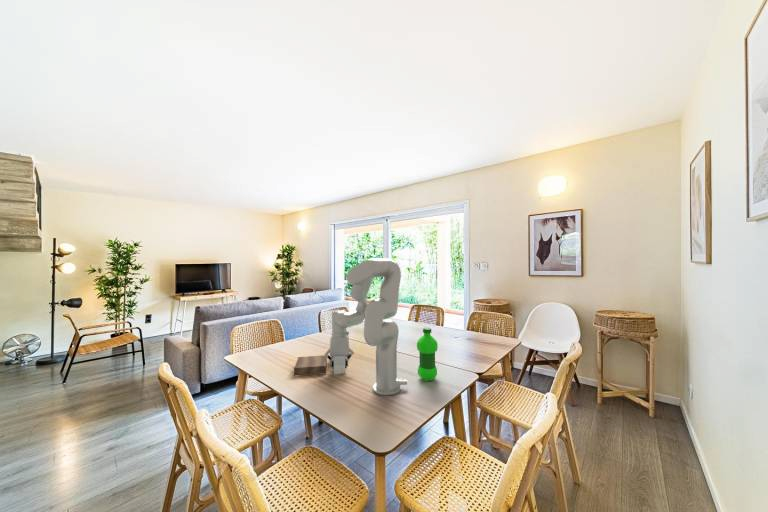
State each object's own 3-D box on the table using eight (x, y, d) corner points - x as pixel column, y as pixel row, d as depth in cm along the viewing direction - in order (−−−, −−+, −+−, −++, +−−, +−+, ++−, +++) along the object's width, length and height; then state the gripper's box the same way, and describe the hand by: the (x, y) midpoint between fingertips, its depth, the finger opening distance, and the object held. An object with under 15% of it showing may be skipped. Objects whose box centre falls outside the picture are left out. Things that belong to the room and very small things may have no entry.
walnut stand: (327, 362, 163) (326, 355, 163) (326, 373, 147) (326, 365, 147) (298, 364, 160) (298, 357, 160) (294, 375, 144) (294, 368, 144)
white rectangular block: (345, 368, 152) (344, 352, 153) (345, 373, 147) (345, 356, 147) (333, 369, 151) (333, 353, 151) (333, 374, 146) (333, 357, 146)
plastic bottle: (424, 385, 133) (424, 332, 133) (413, 376, 142) (412, 327, 142) (442, 381, 137) (441, 329, 137) (429, 372, 146) (429, 325, 147)
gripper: (355, 331, 154) (355, 364, 154) (323, 332, 151) (323, 366, 151) (356, 335, 147) (356, 369, 147) (322, 336, 144) (322, 372, 144)
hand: (339, 367), depth 149 cm, fingers closed on white rectangular block, 6 cm apart
